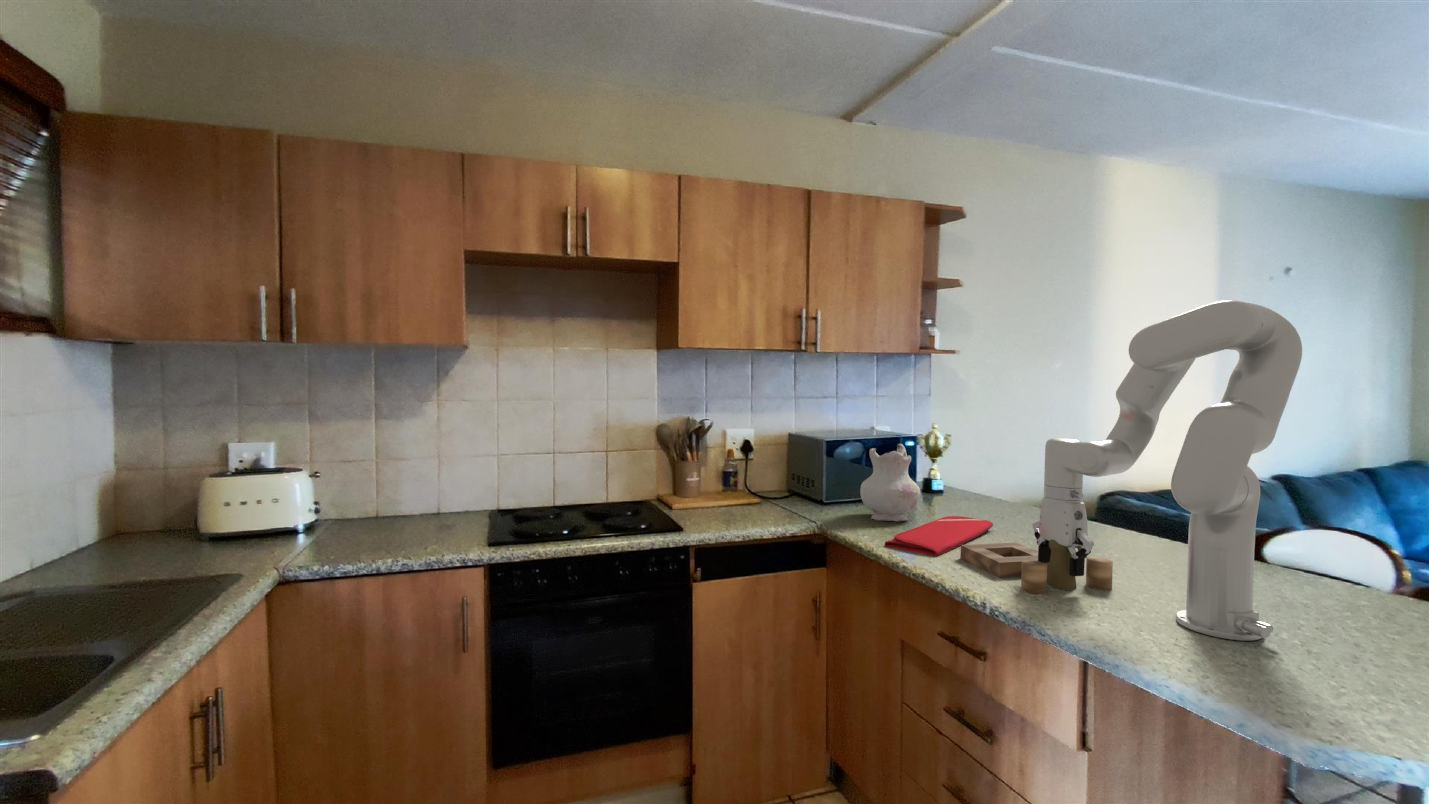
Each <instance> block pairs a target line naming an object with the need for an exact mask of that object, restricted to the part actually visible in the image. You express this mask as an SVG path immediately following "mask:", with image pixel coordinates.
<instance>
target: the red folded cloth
mask: <svg viewBox="0 0 1429 804" xmlns="http://www.w3.org/2000/svg"><path fill="white" fill-rule="evenodd" d="M993 526H994V523H993V522H991V521H990V520H985V519H980V518H975V517H974V518H973V517H967V516H959V515H958V516H957V515H951V516H948V515H947V516H943V517H941V518H938V519H936V520H933V521H931V522H928V523H925V524H922V525H920V526H917V527H914V528H912V529H909V530H906V531H903V532H900V533H897V534H895V535H894V538H891V539H889V540H887V541H885V542H884V547H886V548H892V549H896V550H901V551H902V550H903V551H906V552H912V553H916V554H921V553H923V554H922V555H925V554H927V555H926V556H931V557H934V556H936V557H938V556H941V555H943V554H945V553H947V552H950V551H951V550H953V549H956V548H957V547H961V545H965V543H967V542H970V541H972V540H973V539H975V538H977V537H979V536H981V535H982V534H985V532H987V531H989V530H990V529H991V528H993ZM942 553H943V554H942ZM940 554H941V555H940Z"/></svg>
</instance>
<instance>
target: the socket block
mask: <svg viewBox="0 0 1429 804" xmlns="http://www.w3.org/2000/svg"><path fill="white" fill-rule="evenodd" d="M959 557H960V559H961V560H963V561H965V562H967V563H970V564H971V565H973V566H975V567H977V568H979V569H982V570H984V571H986V572H988V573H990V574H992V575H994V576H996V577H998V578H1012V577H1015V578H1017V577H1021V570H1022V561H1025V560H1032V561H1038V549H1034V548H1031V547H1029V546H1026V545H1023V544H1021V543H1019V542H1000V543H997V542H995V543H979V544H978V543H976V544H973V543H971V544H962V545H960V556H959ZM1045 564H1047V574H1048V568H1049V563H1045Z"/></svg>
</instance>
